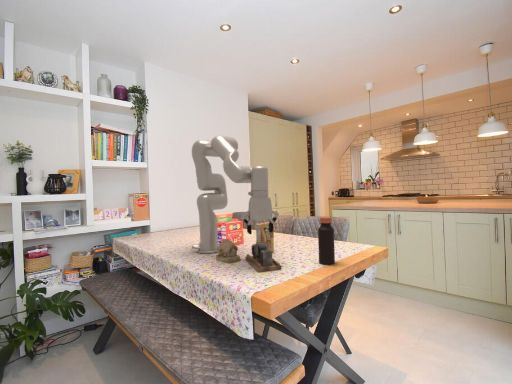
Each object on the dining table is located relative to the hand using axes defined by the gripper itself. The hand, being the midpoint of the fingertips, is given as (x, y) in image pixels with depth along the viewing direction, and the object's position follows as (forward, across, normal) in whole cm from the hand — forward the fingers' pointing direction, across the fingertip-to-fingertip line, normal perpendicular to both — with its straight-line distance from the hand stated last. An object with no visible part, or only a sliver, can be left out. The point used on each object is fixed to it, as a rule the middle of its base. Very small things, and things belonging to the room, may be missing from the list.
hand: (260, 232), depth 120 cm
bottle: (+14, +27, -10) cm, 32 cm away
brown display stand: (+14, 0, -1) cm, 14 cm away
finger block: (+12, +1, -1) cm, 12 cm away
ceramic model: (+15, -12, +14) cm, 24 cm away
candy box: (+14, +8, +18) cm, 25 cm away
